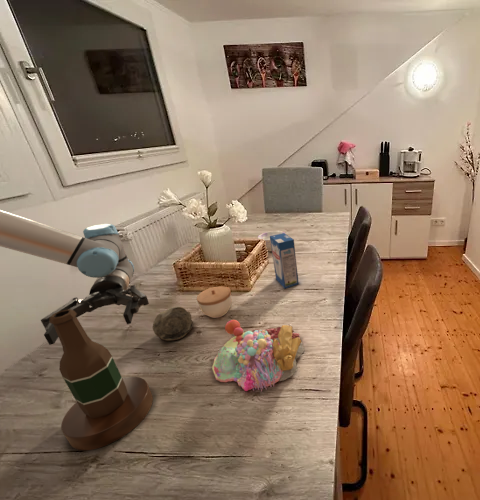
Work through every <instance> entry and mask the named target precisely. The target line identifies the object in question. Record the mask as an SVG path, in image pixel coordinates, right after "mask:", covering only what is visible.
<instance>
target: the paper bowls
mask: <svg viewBox="0 0 480 500" xmlns="http://www.w3.org/2000/svg"><path fill="white" fill-rule="evenodd" d="M282 233H285V234H286V235H287V232H285V231H282V230H271V231H266V232H263V233H260V234H258V236H257V240H258V239H264V240H265V241H266V247H267V250H268V251H267V252H272V248H271V241H270V236H273V235H277V234H282Z"/></svg>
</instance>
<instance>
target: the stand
mask: <svg viewBox="0 0 480 500" xmlns="http://www.w3.org/2000/svg"><path fill="white" fill-rule="evenodd" d="M122 379H123V381H124V383H125V385H126V388H127V391H128V393H127V396H126V398H125V401H124V403H123V404H122V405H121V406H119V407H118V408H117V409H115V410H114V411H113V412H112V413H110V414H108V415H105V416H101V417H98V418H95V419H93V418H91V417H89V416H87V415H86V414H84V412H83V411H82V410H81V408H80V407H79V405H78V403H77V401H76V402H75V403H73V405H72V406H71V407H70V408H69V409H68V410H67V412H66V414H64V417H63V419H62V420H61V425H60V429H61V432H62V434H63V435H64V437H65V438H66V440H67V442H68V443H69V445H70V446H71V447H72V448H73V449H75V450H77V451H92V450H97V449H100V448H103V447H106V446H108V445H110V444H112V443H114V442H116V441H118V440H120V439H121V438H123V437H125V436H126V435H127V434H129V433H130V432H132V431H133V430H135V428H136V427H138V426H139V425H140V424H141V422H142V421H144V419H145V418H146V416H147V415H148V414H149V412H150V410H151V408H152V405H153V401H154V398H153V394H152V392H151V389H150V387H149V384H148V382H147V381H146V379H144V378H142V377H139V376H124V377H122Z"/></svg>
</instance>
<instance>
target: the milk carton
mask: <svg viewBox="0 0 480 500" xmlns="http://www.w3.org/2000/svg"><path fill="white" fill-rule="evenodd" d="M285 233H286V232H285ZM285 233H282V234H277V235H273V236H270V241H271V248H272V251H271V254H272V255H271V256H272V260H273V261H272V262H273V267H274V273H275V274H274V275H275V280H276V281H277V282H278V283H279V284H280V286H282V287H283V289H285V290H286V289H288V288H292V287H294V286H297V285H300V282H299V274H298V266H297V257H296V256H297V255H296V248H295V247H296V246H295V240H294V238H292V237H291V236H289V235H288V234H287V233H286V234H285Z"/></svg>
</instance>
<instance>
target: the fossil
mask: <svg viewBox="0 0 480 500" xmlns="http://www.w3.org/2000/svg"><path fill="white" fill-rule="evenodd" d="M192 319H193V318H192V314H191V312H190V311H188V309H186V308H185V307H183V306H178V305H177V306H172V307H170V308H168V309H165V310H164V311H161V312H159V313H158V314H157V315H156V316H155V319H154V321H153V323H152V331H153V333H154V334H155V335H156V336H157V337H158V338H159V339H161V340H163V341H164V342H175V341H178V340H181V339H183V338H185V337H186V336H187V335H188V334H189V333H190V332H191V330H192V328H193V325H194V321H193V320H192Z"/></svg>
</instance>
